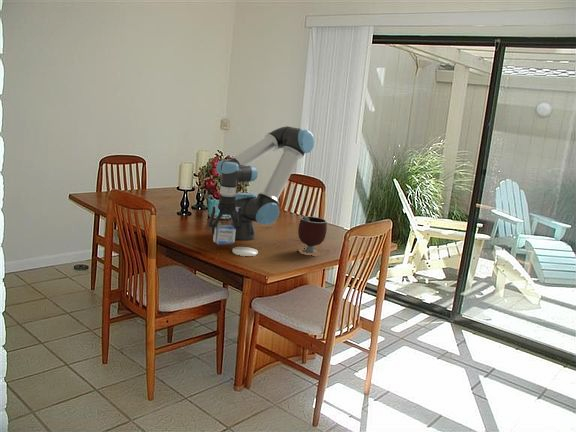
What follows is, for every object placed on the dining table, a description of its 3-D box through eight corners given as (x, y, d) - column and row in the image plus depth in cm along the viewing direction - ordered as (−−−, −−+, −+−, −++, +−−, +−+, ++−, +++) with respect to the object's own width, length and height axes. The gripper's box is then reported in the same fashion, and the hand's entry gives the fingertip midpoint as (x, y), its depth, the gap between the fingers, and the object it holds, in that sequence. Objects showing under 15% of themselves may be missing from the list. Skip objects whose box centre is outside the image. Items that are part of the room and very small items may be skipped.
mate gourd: (309, 247, 288) (314, 209, 284) (328, 255, 278) (334, 216, 274) (287, 250, 278) (292, 211, 273) (307, 258, 268) (312, 218, 264)
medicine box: (217, 244, 263) (218, 227, 261) (214, 242, 267) (215, 224, 265) (233, 244, 267) (234, 226, 265) (229, 241, 271) (231, 224, 269)
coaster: (254, 249, 272) (255, 247, 271) (259, 257, 260) (260, 254, 260) (230, 248, 268) (230, 246, 268) (234, 256, 257) (234, 253, 257)
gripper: (205, 195, 256) (202, 242, 261) (251, 198, 261) (247, 244, 266) (204, 192, 263) (200, 238, 268) (248, 194, 268) (244, 239, 273)
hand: (223, 241), depth 267 cm, fingers closed on medicine box, 8 cm apart
